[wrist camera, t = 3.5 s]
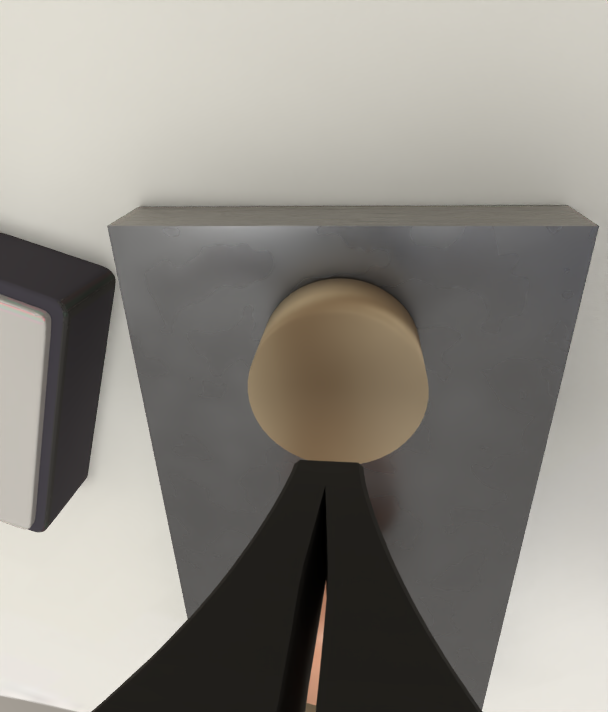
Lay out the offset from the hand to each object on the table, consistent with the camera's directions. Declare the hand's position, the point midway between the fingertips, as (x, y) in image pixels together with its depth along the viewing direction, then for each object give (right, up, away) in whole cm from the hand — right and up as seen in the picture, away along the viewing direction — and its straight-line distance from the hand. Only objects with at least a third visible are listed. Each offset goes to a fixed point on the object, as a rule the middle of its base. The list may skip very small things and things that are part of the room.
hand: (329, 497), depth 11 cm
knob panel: (+1, -4, +12) cm, 13 cm away
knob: (+1, +3, +6) cm, 7 cm away
